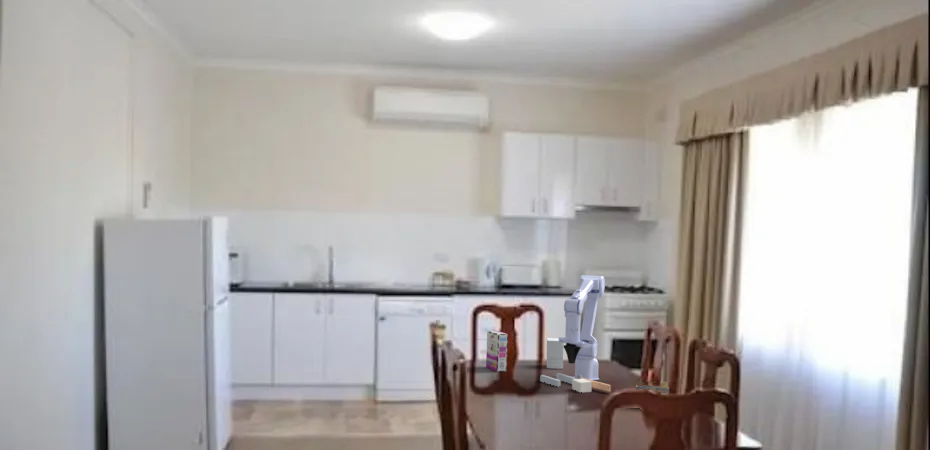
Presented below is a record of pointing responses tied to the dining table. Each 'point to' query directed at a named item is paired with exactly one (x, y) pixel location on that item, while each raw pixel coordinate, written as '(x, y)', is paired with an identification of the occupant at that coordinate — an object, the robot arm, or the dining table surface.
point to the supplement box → (554, 353)
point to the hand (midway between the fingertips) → (571, 363)
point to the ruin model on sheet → (656, 388)
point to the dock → (558, 379)
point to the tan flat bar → (598, 384)
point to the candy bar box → (497, 351)
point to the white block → (581, 385)
